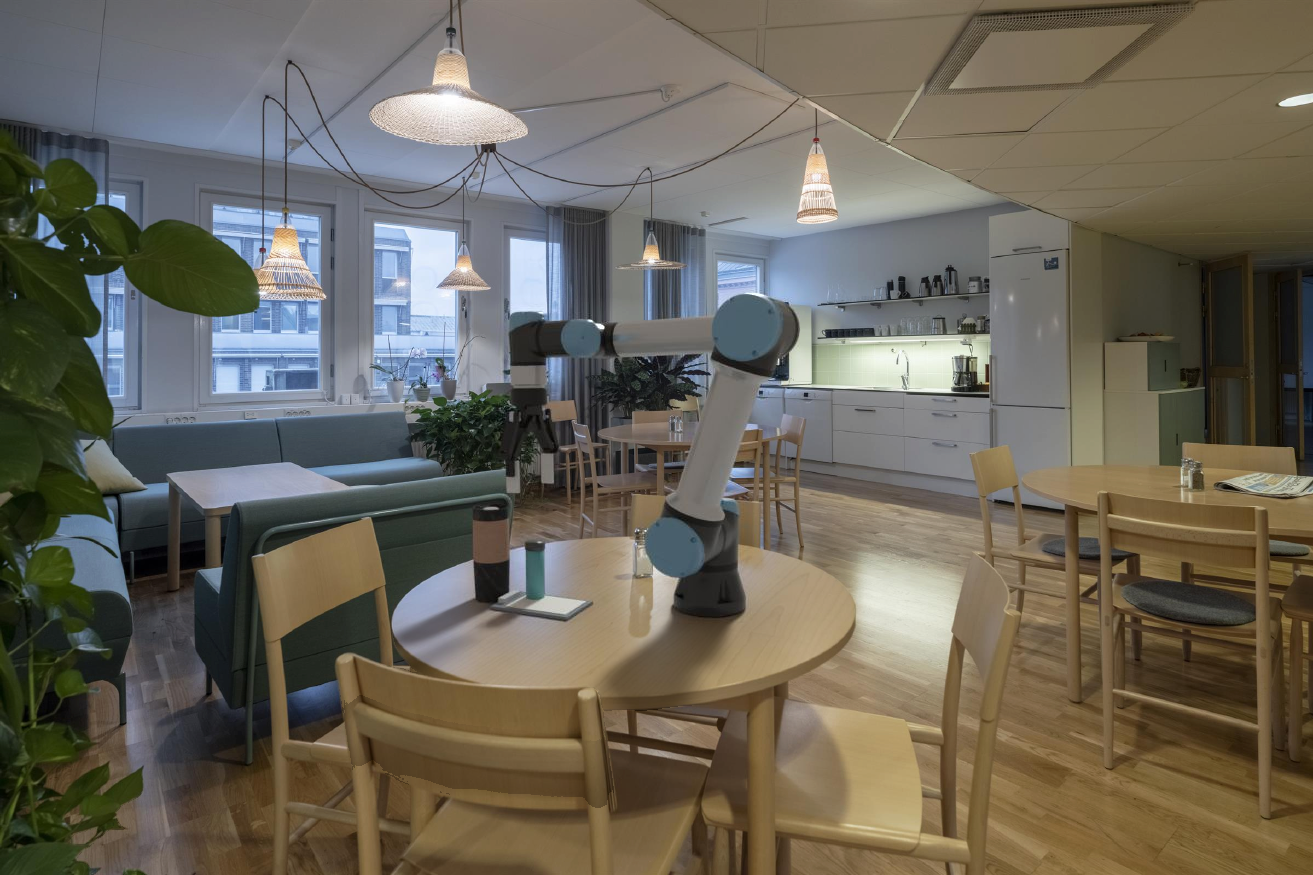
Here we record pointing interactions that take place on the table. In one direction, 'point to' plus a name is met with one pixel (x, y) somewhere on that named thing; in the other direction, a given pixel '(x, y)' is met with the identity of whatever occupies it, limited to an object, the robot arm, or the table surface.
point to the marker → (535, 569)
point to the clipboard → (541, 605)
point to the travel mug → (491, 552)
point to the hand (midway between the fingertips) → (531, 487)
